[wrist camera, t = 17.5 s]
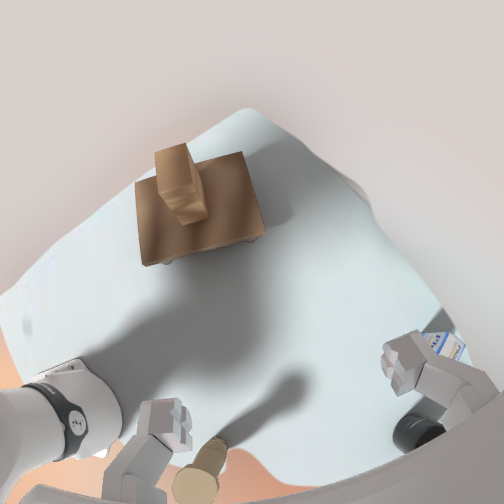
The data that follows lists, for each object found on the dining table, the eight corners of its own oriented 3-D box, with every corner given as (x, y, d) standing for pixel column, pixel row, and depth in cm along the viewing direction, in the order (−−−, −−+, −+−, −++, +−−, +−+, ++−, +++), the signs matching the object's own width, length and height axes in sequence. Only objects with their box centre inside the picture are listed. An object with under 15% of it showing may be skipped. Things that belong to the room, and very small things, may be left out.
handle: (197, 455, 35) (167, 500, 21) (208, 423, 37) (179, 461, 22) (227, 465, 34) (208, 514, 20) (238, 433, 36) (223, 477, 22)
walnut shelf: (157, 273, 44) (142, 264, 38) (148, 199, 48) (134, 182, 42) (266, 245, 44) (265, 231, 39) (244, 171, 48) (241, 151, 43)
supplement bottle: (408, 406, 35) (446, 422, 24) (432, 421, 34) (471, 437, 22) (383, 440, 34) (415, 467, 22) (408, 453, 32) (442, 478, 21)
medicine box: (420, 332, 39) (449, 329, 30) (437, 345, 38) (467, 344, 29) (396, 373, 37) (422, 380, 29) (413, 386, 36) (441, 394, 28)
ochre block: (182, 225, 40) (158, 192, 30) (177, 190, 41) (154, 152, 32) (209, 218, 40) (192, 182, 30) (202, 183, 41) (185, 142, 32)
